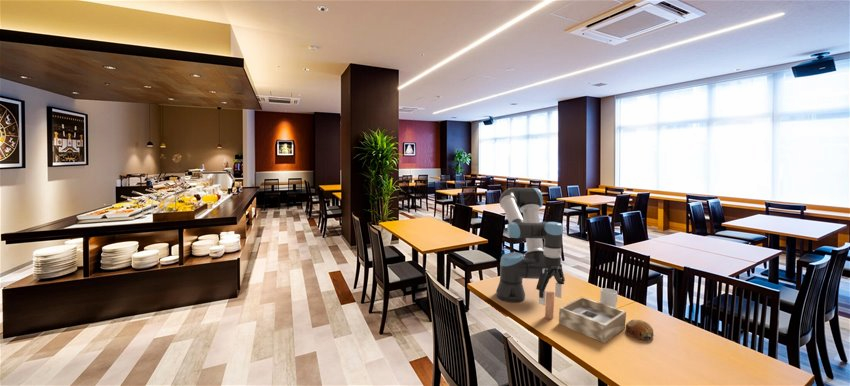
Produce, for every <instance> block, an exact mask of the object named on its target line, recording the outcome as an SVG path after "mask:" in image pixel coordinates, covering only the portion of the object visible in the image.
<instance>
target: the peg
mask: <svg viewBox="0 0 850 386" xmlns="http://www.w3.org/2000/svg"><path fill="white" fill-rule="evenodd" d="M554 309H555V291H552V290H550V291H549V290H548V291H546V296H545V309H544V311H545V312H544V318H545V319H547V320H553V319H554V311H555V310H554Z"/></svg>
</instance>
